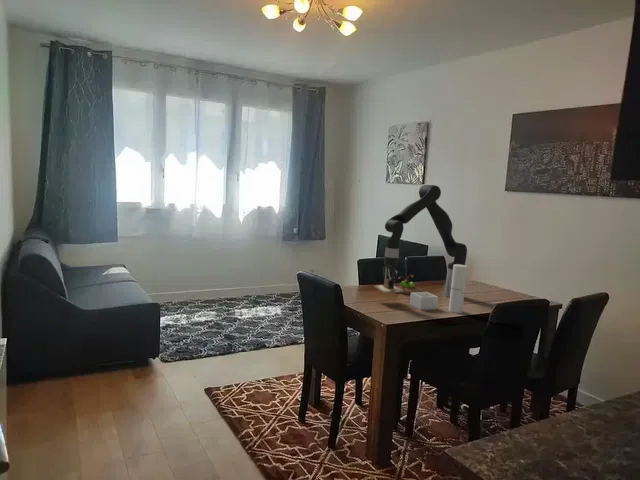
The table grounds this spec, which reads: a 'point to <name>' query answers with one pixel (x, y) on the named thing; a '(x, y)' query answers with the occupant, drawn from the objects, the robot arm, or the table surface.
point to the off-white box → (423, 300)
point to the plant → (407, 287)
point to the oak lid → (386, 287)
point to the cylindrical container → (457, 288)
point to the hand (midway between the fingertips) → (388, 286)
